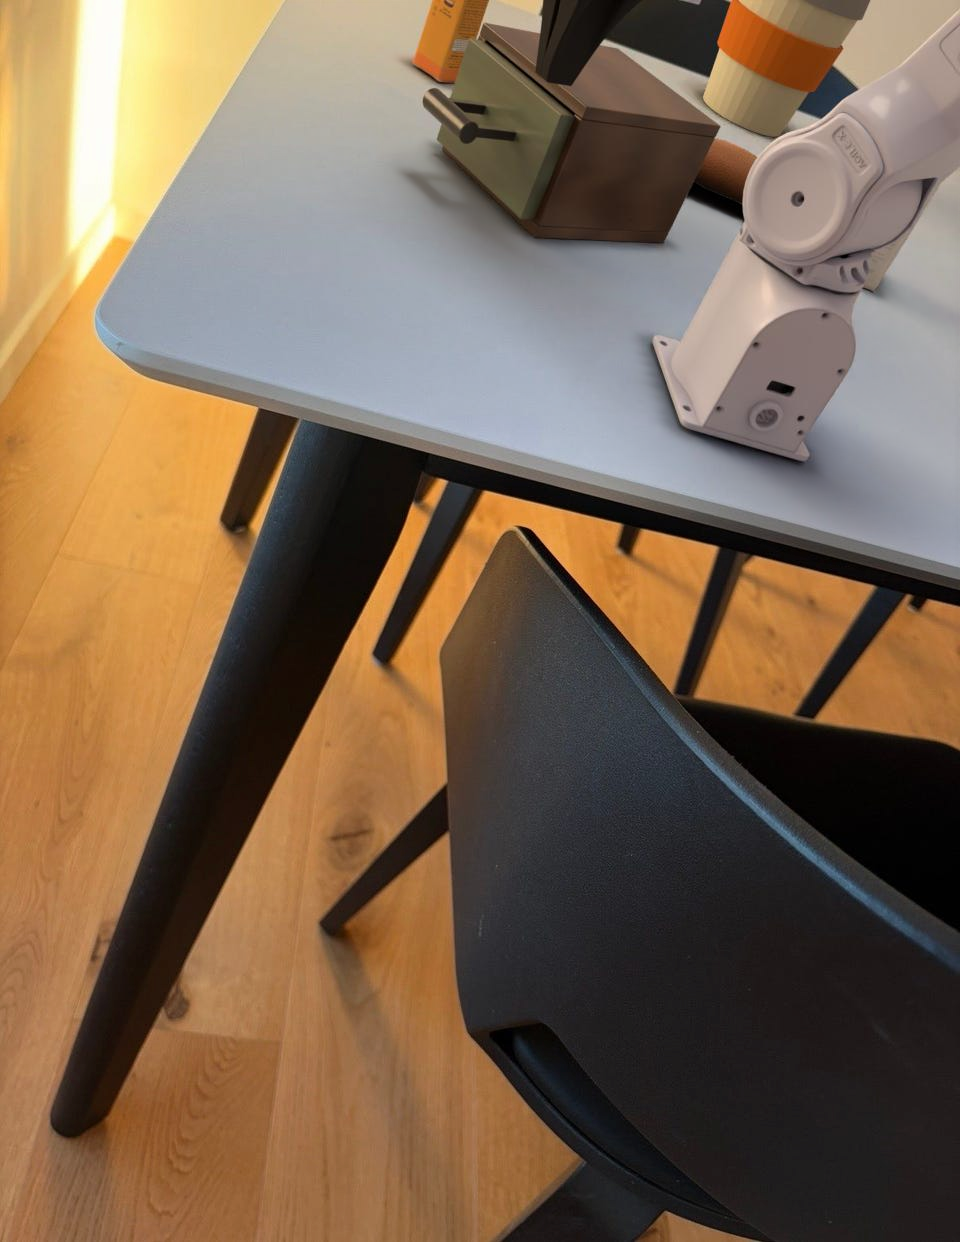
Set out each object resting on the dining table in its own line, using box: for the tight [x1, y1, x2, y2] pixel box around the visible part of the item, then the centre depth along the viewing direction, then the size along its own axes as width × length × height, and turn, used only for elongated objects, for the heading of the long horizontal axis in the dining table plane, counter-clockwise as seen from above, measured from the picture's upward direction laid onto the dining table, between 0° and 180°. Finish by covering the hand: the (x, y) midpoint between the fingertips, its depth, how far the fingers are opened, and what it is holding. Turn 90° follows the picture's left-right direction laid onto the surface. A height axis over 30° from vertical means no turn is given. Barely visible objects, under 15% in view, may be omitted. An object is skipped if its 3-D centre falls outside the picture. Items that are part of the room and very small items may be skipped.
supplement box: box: [412, 0, 490, 84], centre depth 86 cm, size 3×3×10 cm
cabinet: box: [441, 22, 721, 244], centre depth 76 cm, size 13×12×9 cm
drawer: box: [422, 38, 575, 220], centre depth 73 cm, size 16×10×7 cm, turn 125°
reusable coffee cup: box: [702, 0, 871, 138], centre depth 110 cm, size 12×13×15 cm
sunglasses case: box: [693, 137, 758, 206], centre depth 91 cm, size 18×7×7 cm
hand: (553, 79), depth 65 cm, fingers closed
